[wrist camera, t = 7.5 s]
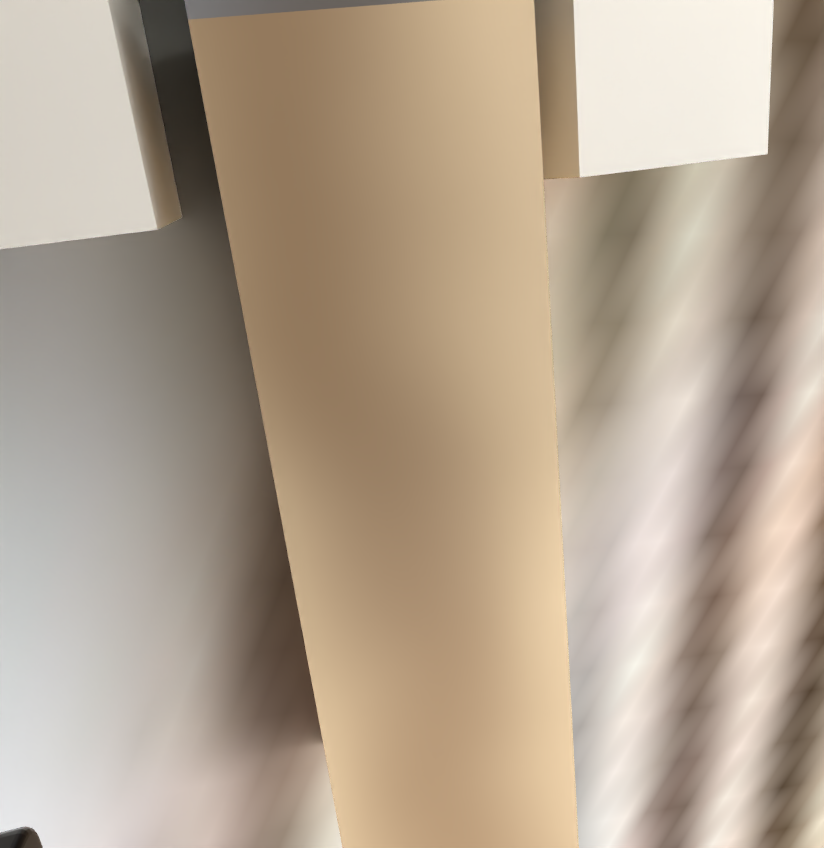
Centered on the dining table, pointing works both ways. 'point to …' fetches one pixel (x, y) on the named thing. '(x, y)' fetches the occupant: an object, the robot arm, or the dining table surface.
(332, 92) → the rail
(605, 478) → the dining table surface
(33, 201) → the headboard
